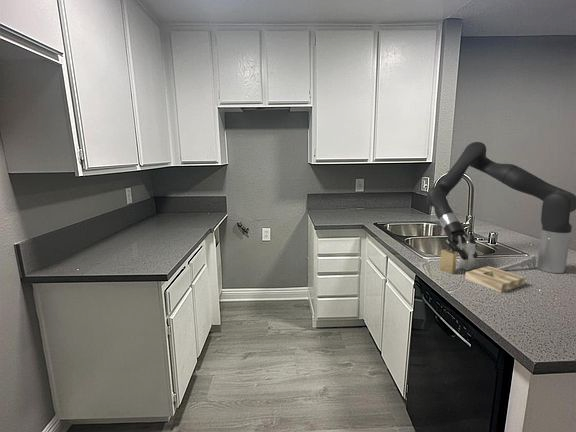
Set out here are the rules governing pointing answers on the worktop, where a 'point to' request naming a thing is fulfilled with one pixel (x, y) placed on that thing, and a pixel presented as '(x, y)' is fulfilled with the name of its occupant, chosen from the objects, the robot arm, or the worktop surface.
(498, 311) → the worktop surface
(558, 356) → the worktop surface
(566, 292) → the worktop surface
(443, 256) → the light brown wooden block
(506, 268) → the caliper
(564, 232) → the robot arm
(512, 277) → the socket block
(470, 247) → the square bit
